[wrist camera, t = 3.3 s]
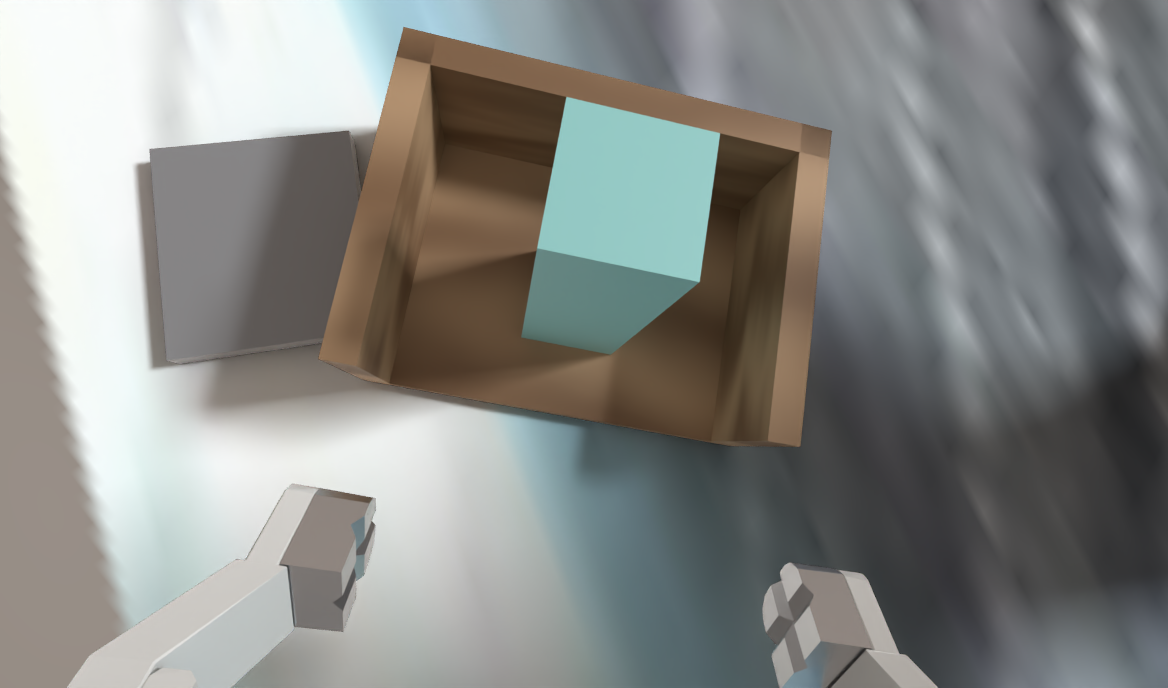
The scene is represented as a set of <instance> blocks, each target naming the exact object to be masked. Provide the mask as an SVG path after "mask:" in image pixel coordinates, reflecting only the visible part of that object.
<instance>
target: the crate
mask: <svg viewBox="0 0 1168 688" xmlns="http://www.w3.org/2000/svg"><path fill="white" fill-rule="evenodd" d="M566 97H569V98H573V99H578V100H582V101H586V102H590V103H594V104H599V105H603V106H607V107H611V108H616V109H620V110H624V111H628V112H632V113H637V114H641V115H645V116H649V117H654V118H658V119H662V120H666V121H670V122H675V123H679V124H683V125H687V126H692V127H696V128H700V129H704V130H708V131H713V132H717V133H720V138H719V146H718V153H717V160H716V167H715V174H714V182H713V189H712V196H711V203H710V211H709V218H708V225H707V232H706V239H705V247H704V254H703V261H702V268H701V276H700V282H699V283H698V284H697V285H695V286H694V287H693V288H692V289H691V290H689V291H688V292H687V293H686V294H684V295H683V296H682V297H681V298H680V299H678V300H677V301H676V302H675V303H673V304H672V305H671V306H670V307H669V308H667V309H666V310H665V311H664V312H662V313H661V314H660V315H659V316H658V317H656V318H655V319H654V320H653V321H651V322H650V323H649V324H648V325H647V326H645V327H644V328H643V329H642V330H640V331H639V332H638V333H637V334H636V335H634V336H633V337H632V338H631V339H629V340H628V341H627V342H626V343H625V344H623V345H622V346H621V347H620V348H618V349H617V350H616V351H615V352H614V353H612V354H611V355H610V354H604V353H599V352H594V351H589V350H584V349H579V348H573V347H568V346H563V345H558V344H553V343H547V342H542V341H537V340H532V339H527V338H521V335H522V330H523V324H524V318H525V313H526V307H527V302H528V296H529V291H530V285H531V279H532V274H533V268H534V263H535V257H536V252H537V246H538V241H539V236H540V231H541V226H542V220H543V215H544V210H545V205H546V200H547V195H548V190H549V184H550V179H551V174H552V169H553V164H554V159H555V154H556V148H557V143H558V138H559V133H560V128H561V123H562V118H563V112H564V107H565V102H566ZM831 134H832V131H831V130H827V129H822V128H818V127H814V126H810V125H806V124H802V123H798V122H794V121H789V120H785V119H781V118H777V117H773V116H769V115H765V114H761V113H756V112H752V111H748V110H744V109H740V108H736V107H732V106H728V105H723V104H719V103H715V102H711V101H707V100H703V99H699V98H694V97H690V96H686V95H682V94H678V93H674V92H670V91H666V90H661V89H657V88H653V87H649V86H645V85H641V84H637V83H633V82H628V81H624V80H620V79H616V78H612V77H608V76H604V75H600V74H595V73H591V72H587V71H583V70H579V69H575V68H571V67H567V66H562V65H558V64H554V63H550V62H546V61H542V60H538V59H534V58H529V57H525V56H521V55H517V54H513V53H509V52H505V51H501V50H496V49H492V48H488V47H484V46H480V45H476V44H472V43H468V42H463V41H459V40H455V39H451V38H447V37H443V36H439V35H434V34H430V33H426V32H422V31H418V30H414V29H410V28H406V27H404V28H403V32H402V36H401V40H400V44H399V47H398V51H397V55H396V59H395V63H394V67H393V71H392V75H391V78H390V82H389V86H388V90H387V94H386V98H385V102H384V106H383V109H382V113H381V117H380V121H379V125H378V129H377V133H376V136H375V140H374V144H373V148H372V152H371V156H370V160H369V164H368V167H367V171H366V175H365V179H364V183H363V187H362V191H361V195H360V198H359V202H358V206H357V210H356V214H355V218H354V222H353V226H352V229H351V233H350V237H349V241H348V245H347V249H346V253H345V257H344V260H343V264H342V268H341V272H340V276H339V280H338V284H337V288H336V291H335V295H334V299H333V303H332V307H331V311H330V315H329V319H328V322H327V326H326V330H325V334H324V338H323V342H322V346H321V350H320V353H319V357H318V359H319V360H321V361H324V362H326V363H328V364H330V365H332V366H334V367H337V368H339V369H341V370H343V371H345V372H347V373H350V374H352V375H354V376H356V377H358V378H360V379H363V380H366V381H371V382H377V383H382V384H388V385H393V386H399V387H405V388H410V389H416V390H421V391H427V392H432V393H438V394H443V395H449V396H455V397H460V398H466V399H471V400H477V401H482V402H488V403H493V404H499V405H505V406H510V407H516V408H521V409H527V410H532V411H538V412H543V413H549V414H555V415H560V416H566V417H571V418H577V419H582V420H588V421H593V422H599V423H605V424H610V425H616V426H621V427H627V428H632V429H638V430H643V431H649V432H655V433H660V434H666V435H671V436H677V437H682V438H688V439H693V440H699V441H705V442H710V443H716V444H721V445H727V446H769V447H800V445H801V435H802V425H803V415H804V405H805V395H806V385H807V375H808V365H809V355H810V345H811V335H812V325H813V315H814V305H815V294H816V284H817V274H818V264H819V254H820V244H821V234H822V224H823V214H824V204H825V194H826V184H827V174H828V164H829V154H830V144H831Z"/></svg>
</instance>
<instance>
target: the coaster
mask: <svg viewBox="0 0 1168 688" xmlns="http://www.w3.org/2000/svg"><path fill="white" fill-rule="evenodd" d="M150 162H151V174H152V187H153V199H154V212H155V224H156V237H157V249H158V262H159V274H160V287H161V299H162V312H163V325H164V337H165V350H166V361H170V362H174V363H178V364H183V363H190V362H197V361H204V360H210V359H217V358H224V357H231V356H238V355H245V354H251V353H258V352H265V351H272V350H279V349H286V348H292V347H299V346H306V345H313V344H320V343H322V342H323V338H324V334H325V330H326V326H327V322H328V319H329V315H330V311H331V307H332V303H333V299H334V295H335V291H336V288H337V284H338V280H339V276H340V272H341V268H342V264H343V260H344V257H345V253H346V249H347V245H348V241H349V237H350V233H351V229H352V226H353V222H354V218H355V214H356V210H357V206H358V202H359V198H360V195H361V186H360V179H359V171H358V164H357V156H356V148H355V142H354V140H353V138H352V136H351V134H350V132H349V131H341V132H330V133H319V134H308V135H298V136H287V137H276V138H265V139H254V140H243V141H232V142H222V143H211V144H200V145H189V146H178V147H167V148H156V149H150Z"/></svg>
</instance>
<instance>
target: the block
mask: <svg viewBox="0 0 1168 688" xmlns="http://www.w3.org/2000/svg"><path fill="white" fill-rule="evenodd" d="M719 138H720V133H717V132H713V131H708V130H704V129H700V128H696V127H692V126H687V125H683V124H679V123H675V122H670V121H666V120H662V119H658V118H654V117H649V116H645V115H641V114H637V113H632V112H628V111H624V110H620V109H616V108H611V107H607V106H603V105H599V104H594V103H590V102H586V101H582V100H578V99H573V98H569V97H566V102H565V107H564V112H563V118H562V123H561V128H560V133H559V138H558V143H557V148H556V154H555V159H554V164H553V169H552V174H551V179H550V184H549V190H548V195H547V200H546V205H545V210H544V215H543V220H542V226H541V231H540V236H539V241H538V246H537V252H536V257H535V263H534V268H533V274H532V279H531V285H530V291H529V296H528V302H527V307H526V313H525V318H524V324H523V330H522V335H521V338H527V339H532V340H537V341H542V342H547V343H553V344H558V345H563V346H568V347H573V348H579V349H584V350H589V351H594V352H599V353H604V354H610V355H611V354H612V353H614V352H615V351H616V350H617V349H618V348H620V347H621V346H622V345H623V344H625V343H626V342H627V341H628V340H629V339H631V338H632V337H633V336H634V335H636V334H637V333H638V332H639V331H640V330H642V329H643V328H644V327H645V326H647V325H648V324H649V323H650V322H651V321H653V320H654V319H655V318H656V317H658V316H659V315H660V314H661V313H662V312H664V311H665V310H666V309H667V308H669V307H670V306H671V305H672V304H673V303H675V302H676V301H677V300H678V299H680V298H681V297H682V296H683V295H684V294H686V293H687V292H688V291H689V290H691V289H692V288H693V287H694V286H695V285H697V284H698V283H699V282H700V276H701V268H702V261H703V254H704V247H705V239H706V232H707V225H708V218H709V211H710V203H711V196H712V189H713V182H714V174H715V167H716V160H717V153H718V146H719Z"/></svg>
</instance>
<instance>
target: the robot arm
mask: <svg viewBox="0 0 1168 688" xmlns="http://www.w3.org/2000/svg"><path fill="white" fill-rule="evenodd" d="M375 511H376V498H371V497H366V496H360V495H355V494H349V493H344V492H338V491H333V490H327V489H322V488H316V487H310V486H304V485H298V484H291V485H290V486H289V487H288V488H287V489H286V490H285V491H284V493H283V494H282V496H281V498H280V500H279V501H278V503H277V505H276V507H275V508H274V510H273V512H272V514H271V516H270V517H269V519H268V521H267V523H266V524H265V526H264V528H263V530H262V531H261V533H260V535H259V537H258V538H257V540H256V542H255V544H254V545H253V547H252V549H251V551H250V552H249V554H248V556H247V558H246V559H245V560H240V559H236V560H234V561H233V562H231V563H230V564H228V565H227V566H225V567H224V568H222V569H221V570H219V571H218V572H216V573H215V574H213V575H211V576H210V577H208V578H207V579H205V580H204V581H202V582H201V583H199V584H198V585H196V586H195V587H193V588H192V589H190V590H189V591H187V592H186V593H184V594H182V595H181V596H179V597H178V598H176V599H175V600H173V601H172V602H170V603H169V604H167V605H166V606H164V607H163V608H161V609H160V610H158V611H156V612H155V613H153V614H152V615H150V616H149V617H147V618H146V619H144V620H143V621H141V622H140V623H138V624H137V625H135V626H134V627H132V628H131V629H129V630H127V631H126V632H124V633H123V634H121V635H120V636H118V637H117V638H115V639H114V640H112V641H111V642H109V643H108V644H106V645H105V646H103V647H102V648H100V649H98V650H97V651H95V652H94V653H93V654H91V655H90V656H89V657H88V659H87V660H86V661H85V663H84V664H83V665H82V667H81V668H80V670H79V671H78V673H77V674H76V675H75V677H74V678H73V679H72V681H71V682H70V684H69V685H68V687H67V688H231V687H232V686H233V685H234V684H236V683H237V682H238V681H239V680H240V679H241V678H242V677H243V676H244V675H245V674H246V673H248V672H249V671H250V670H251V669H252V668H253V667H254V666H255V665H256V664H257V663H258V662H259V661H261V660H262V659H263V658H264V657H265V656H266V655H267V654H268V653H269V652H270V651H271V650H273V649H274V648H275V647H276V646H277V645H278V644H279V643H280V642H281V641H282V640H283V639H285V638H286V637H287V636H288V635H289V634H290V633H291V632H292V631H293V630H294V627H303V628H312V629H322V630H331V631H341V632H343V631H344V628H345V626H346V623H347V620H348V617H349V615H350V612H351V609H352V607H353V604H354V601H355V599H356V581H357V580H358V579H360V578H361V577H362V576H364V574H365V571H366V569H367V566H368V563H369V560H370V556H371V552H372V548H373V544H374V538H375V524H374V523H373V522H372V519H373V516H374V513H375ZM780 576H781V579H782V580H781V581H779V582H777V583H775V584H773V585H771V586H770V588H769V589H768V591H767V593H766V594H765V597H764V603H763V622H764V626H765V631H766V633H767V635H768V636H769V637H770V638H771V639H772V641H773V642H774V643H775V644H776V646H775V648H774V651H773V653H772V655H771V656H772V660H773V664H774V668H775V672H776V676H777V680H778V684H779V688H938V687H937V686H936V685H935V684H934V683H933V682H932V681H931V680H930V679H929V678H928V677H927V676H926V675H925V674H924V673H923V672H922V671H921V670H920V669H919V668H918V666H917V665H916V664H915V663H914V662H913V661H912V660H911V659H910V658H909V657H908V656H907V655H903V654H899V652H898V650H897V647H896V645H895V642H894V640H893V638H892V635H891V633H890V631H889V628H888V626H887V624H886V621H885V619H884V617H883V614H882V612H881V609H880V607H879V605H878V602H877V600H876V598H875V595H874V593H873V591H872V588H871V586H870V584H869V581H868V579H867V578H866V577H865V576H864V575H863V574H861V573H856V572H849V571H842V570H836V569H834V568H827V567H820V566H813V565H806V564H798V563H788V564H786V565H784V567H783V568H782V570H781V571H780Z"/></svg>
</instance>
